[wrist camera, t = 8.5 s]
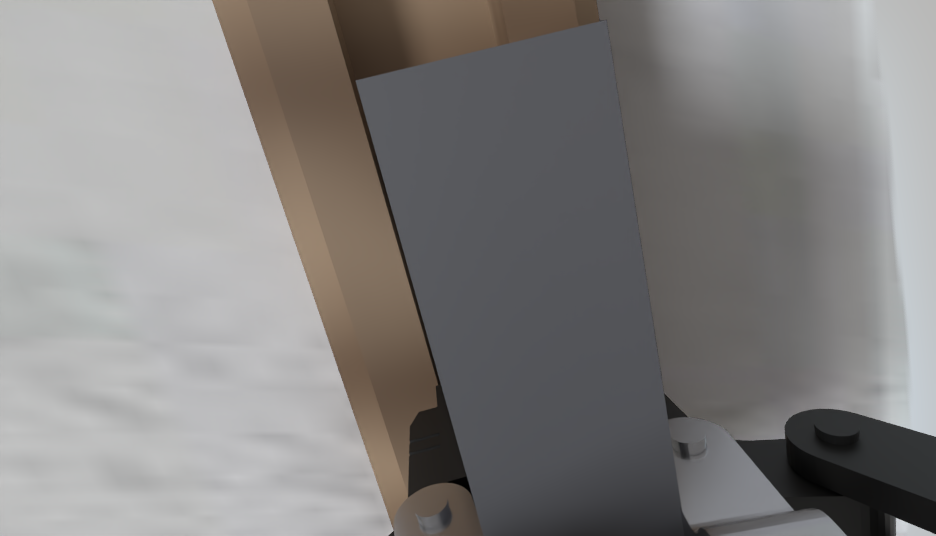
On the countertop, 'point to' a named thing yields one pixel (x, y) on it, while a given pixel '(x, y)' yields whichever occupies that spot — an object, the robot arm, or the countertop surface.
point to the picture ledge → (376, 56)
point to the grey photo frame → (532, 281)
